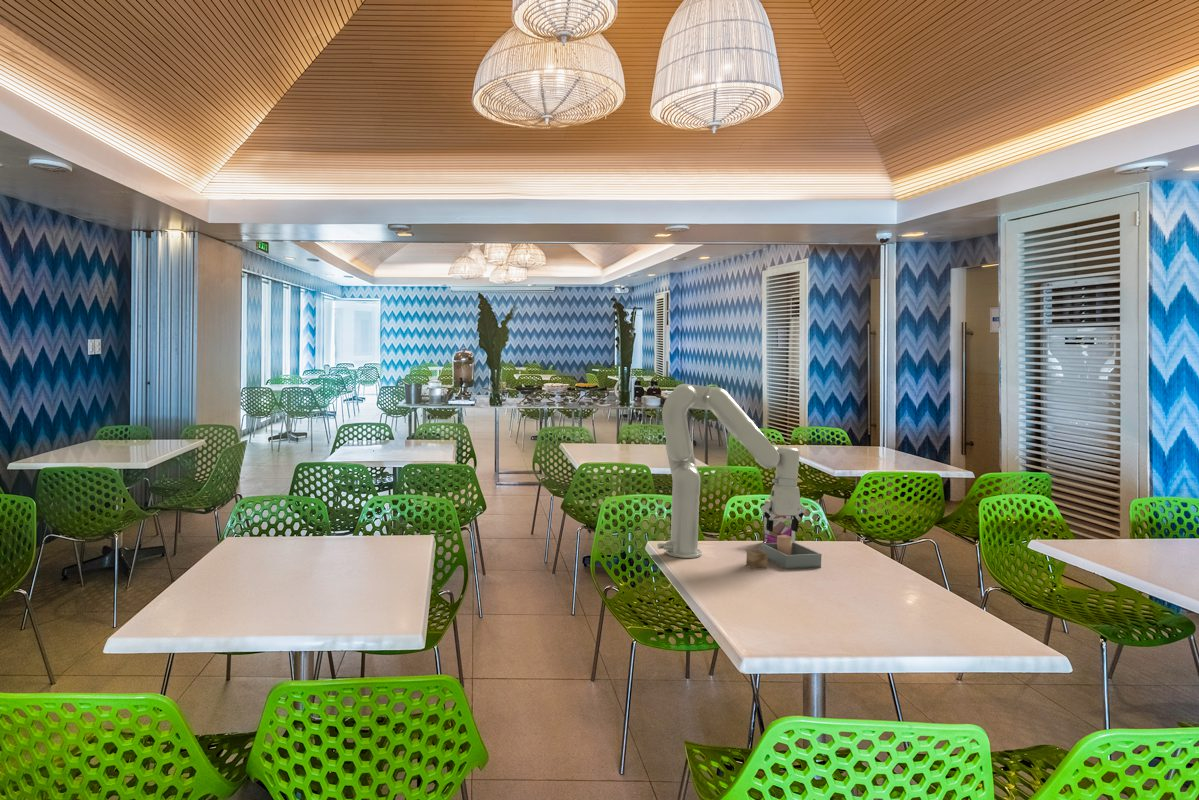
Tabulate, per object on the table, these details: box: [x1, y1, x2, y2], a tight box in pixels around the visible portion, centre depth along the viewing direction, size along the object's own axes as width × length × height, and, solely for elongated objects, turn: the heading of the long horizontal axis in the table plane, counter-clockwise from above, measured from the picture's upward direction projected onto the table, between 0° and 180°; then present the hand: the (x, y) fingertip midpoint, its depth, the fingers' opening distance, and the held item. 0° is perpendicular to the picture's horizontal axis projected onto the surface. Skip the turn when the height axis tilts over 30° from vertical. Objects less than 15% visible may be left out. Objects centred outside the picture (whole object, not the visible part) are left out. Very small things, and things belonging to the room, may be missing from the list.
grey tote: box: [760, 541, 822, 570], centre depth 261 cm, size 13×17×4 cm
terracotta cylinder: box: [777, 535, 792, 555], centre depth 265 cm, size 5×5×7 cm
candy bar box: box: [762, 498, 796, 543], centre depth 286 cm, size 11×5×16 cm, turn 58°
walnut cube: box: [745, 549, 768, 570], centre depth 253 cm, size 5×5×5 cm
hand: (781, 530), depth 265 cm, fingers open, 9 cm apart
